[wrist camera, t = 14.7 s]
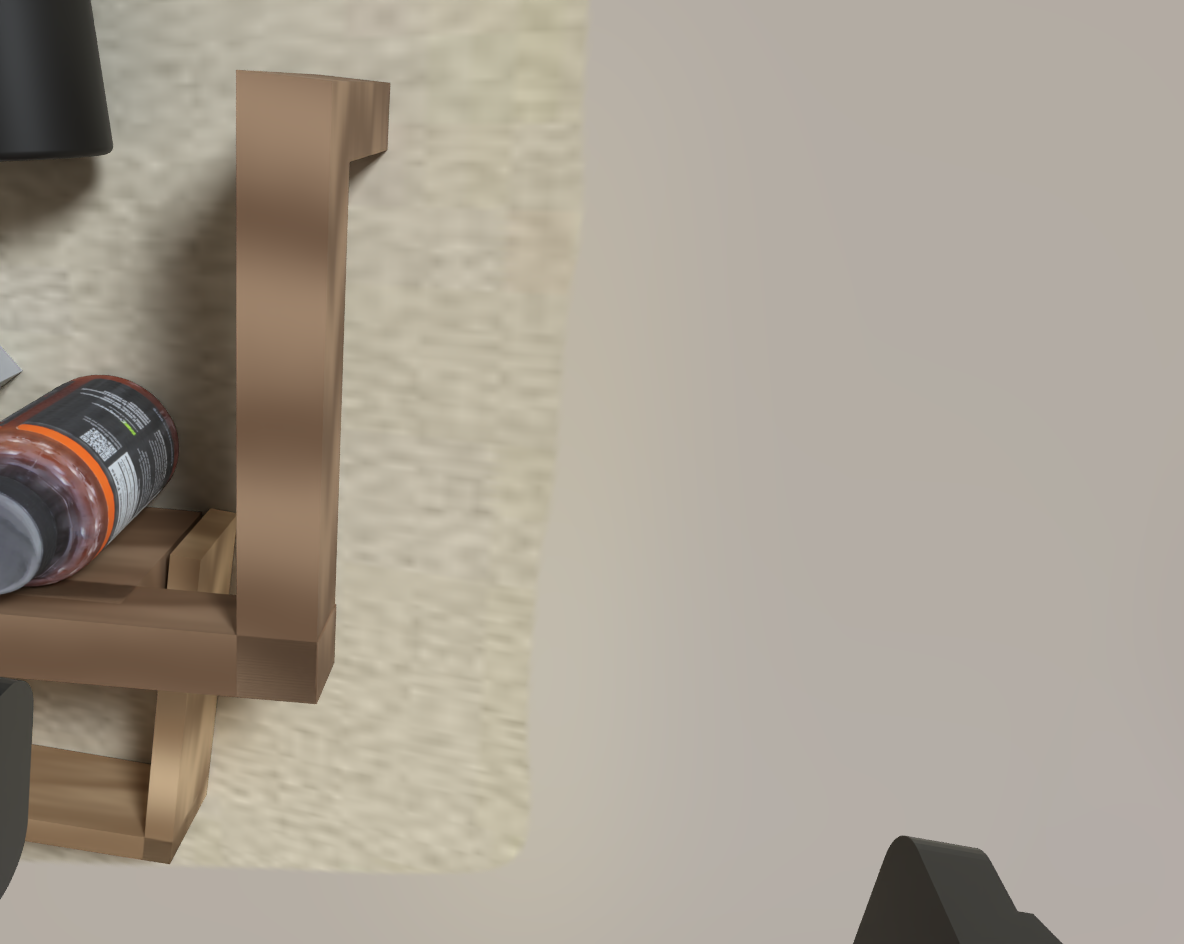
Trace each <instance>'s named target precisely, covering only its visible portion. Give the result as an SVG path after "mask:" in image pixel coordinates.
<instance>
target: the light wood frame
mask: <svg viewBox="0 0 1184 944" xmlns="http://www.w3.org/2000/svg"><path fill="white" fill-rule="evenodd" d="M236 527H237V513H233V512H228V511H223V510H217V509H212V508H210V510H209V511H208V512H207V513H206V514H205V515H204V516H203V517H202V519H201V520H200V521H199V522H198V523H197V524H196V525H195V527H194V528H193V529H192V530H191V531H190V532H189V533H188V535H187V536H186V537H185V538H184V539H183V540H182V541H181V543H180V544H179V545H178V546H177V547H176V548H175V549H174V551H173V552H172V553H171V554H170V562H169V573H168V584H167V589H174V590H185V591H196V592H207V593H218V594H229V589H230V580H231V572H232V563H233V554H234V545H235V536H236ZM216 705H217V695H206V694H194V693H183V692H171V691H160V690H158V694H157V705H156V716H155V727H154V738H153V749H152V760H151V764H146V763H140V762H134V761H128V760H122V759H116V758H110V757H104V756H99V755H93V754H87V753H81V752H75V751H69V750H63V749H57V748H51V747H45V746H39V745H33V744H32V747H31V768H30V789H29V810H28V825H27V832H26V838H25V841H29V842H35V843H41V844H47V845H54V846H60V847H66V848H72V849H78V850H85V851H91V852H97V853H103V854H110V855H116V856H122V857H128V858H134V859H141V860H147V861H153V862H159V863H165V864H170V863H171V861H172V859H173V857H174V855H175V854H176V852H177V850H178V848H179V846H180V844H181V842H182V840H183V838H184V836H185V835H186V833H187V831H188V829H189V827H190V825H191V823H192V821H193V819H194V817H195V816H196V814H197V812H198V810H199V808H200V806H201V804H202V802H203V800H204V798H205V797H206V795H207V786H208V777H209V768H210V759H211V750H212V741H213V732H214V723H215V714H216Z"/></svg>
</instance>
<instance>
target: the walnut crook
mask: <svg viewBox="0 0 1184 944" xmlns="http://www.w3.org/2000/svg"><path fill="white" fill-rule="evenodd" d="M389 101H390V83H386V82H377V81H369V80H360V79H351V78H342V77H334V76H325V75H315V74H298V73H281V72H263V71H246V70H236V483H237V595H229V594H218V593H207V592H196V591H185V590H174V589H167V584H168V573H169V562H170V554H171V553H172V552H173V551H174V549H175V548H176V547H177V546H178V545H179V544H180V543H181V541H182V540H183V539H184V538H185V537H186V536H187V535H188V533H189V532H190V531H191V530H192V529H193V528H194V527H195V525H196V524H197V523H198V522H199V521H200V520H201V519H202V512H194V511H184V510H173V509H163V508H152V507H145V508H144V509H143V510H142V511H141V512H140V513H139V514H138V515H137V516H136V517H135V518H134V519H133V520H132V521H131V522H130V523H129V524H128V525H127V526H126V527H125V528H124V529H123V530H122V531H121V532H120V533H119V534H118V535H117V536H116V537H115V538H114V539H113V540H112V541H111V542H110V543H109V544H108V545H107V546H106V547H105V548H104V549H103V550H102V551H101V552H100V553H99V554H98V555H97V556H96V557H95V558H94V559H93V560H92V561H91V562H90V563H89V564H88V565H86V566H85V567H84V568H82V569H81V570H80V571H78V572H77V573H76V574H74V575H72V576H70V577H68V578H66V579H63V580H61V581H59V582H56V583H52V584H48V585H42V586H26V587H25V586H23V587H21V588H20V589H18V590H15V591H13V592H10V593H6V594H0V677H10V678H22V679H33V680H45V681H56V682H68V683H79V684H91V685H102V686H114V687H125V688H137V689H148V690H160V691H171V692H183V693H194V694H206V695H217V696H229V697H240V698H252V699H263V700H275V701H286V702H298V703H310V704H317V702H318V700H319V697H320V695H321V693H322V690H323V688H324V686H325V683H326V681H327V678H328V676H329V674H330V671H331V669H332V667H333V664H334V657H335V627H336V604H335V587H336V557H337V526H338V496H339V466H340V435H341V405H342V375H343V344H344V314H345V284H346V253H347V223H348V193H349V162H351V161H354V160H358V159H361V158H364V157H367V156H370V155H373V154H376V153H380V152H383V151H386V150H387V146H388V123H389Z"/></svg>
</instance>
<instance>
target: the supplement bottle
mask: <svg viewBox="0 0 1184 944" xmlns="http://www.w3.org/2000/svg"><path fill="white" fill-rule="evenodd" d="M178 454H179V443H178V435H177V431H176V428H175V425H174V423H173V420H172V419H171V417H170V415H169V414H168V412H167V411H166V409H165V408H164V406H163V405H162V404H161V403H160V401H159V400H157V399H156V398H155V397H154V396H153V395H152V394H151V393H150V392H148V391H147V390H146V389H144V388H142V387H141V386H139V385H137V384H135V383H133V382H131V381H129V380H126V379H123V378H119V377H115V376H109V375H91V376H84V377H79V378H76V379H73V380H71V381H69V382H67V383H64V384H62V385H61V386H59V387H57V388H55V389H53V390H52V391H50V392H48V393H47V394H45V395H43V396H42V397H40V398H39V399H37V400H36V401H34V402H32V403H30V404H29V405H27V406H25V407H23V408H22V409H20V410H19V411H17V412H15V413H13V414H12V415H10V416H9V417H7V418H5V419H4V420H2V421H0V594H6V593H10V592H13V591H15V590H18V589H20V588H21V587H23V586H25V587H26V586H42V585H48V584H52V583H56V582H59V581H61V580H63V579H66V578H68V577H70V576H72V575H74V574H76V573H77V572H78V571H80V570H81V569H82V568H84V567H85V566H86V565H88V564H89V563H90V562H91V561H92V560H93V559H94V558H95V557H96V556H97V555H98V554H99V553H100V552H101V551H102V550H103V549H104V548H105V547H106V546H107V545H108V544H109V543H110V542H111V541H112V540H113V539H114V538H115V537H116V536H117V535H118V534H119V533H120V532H121V531H122V530H123V529H124V528H125V527H126V526H127V525H128V524H129V523H130V522H131V521H132V520H133V519H134V518H135V517H136V516H137V515H138V514H139V513H140V512H141V511H142V510H143V509H144V508H145V507H146V506H147V505H148V504H149V503H150V502H151V501H152V500H153V499H154V498H155V497H156V496H157V495H158V493H159V492H160V491H161V490H162V488H163V487H165V485H166V484H167V483H168V482H169V480H170V478H171V477H172V475H173V473H174V471H175V468H176V465H177V461H178Z"/></svg>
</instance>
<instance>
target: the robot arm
mask: <svg viewBox="0 0 1184 944" xmlns="http://www.w3.org/2000/svg"><path fill="white" fill-rule="evenodd" d="M32 727H33V693H32V690H31V687H30V685H29V684H28V683H27V682H26V681H21V680H16V679H10V678H4V677H0V899H1V897H2V896H3V894H4V892H5V891H6V889H7V887H8V885H9V883H10V881H11V879H12V877H13V875H14V872H15V870H16V867H17V865H18V862H19V859H20V856H21V853H22V850H23V846H24V842H25V838H26V832H27V825H28V810H29V789H30V768H31V747H32ZM853 944H1062V943H1061V942H1060V941H1059V940H1058V939H1057V938H1056V937H1055V936H1054V935H1053V934H1052V933H1051V932H1050V931H1049V930H1048V929H1047V927H1045V926H1044V925H1043V923H1041V921H1040V920H1039V919H1038V918H1037V917H1036V916H1034V914H1030V913H1024V912H1018V911H1017V909H1016V908H1015V906H1014V904H1013V902H1012V900H1011V898H1010V896H1009V895H1008V893H1007V891H1006V889H1005V887H1004V885H1003V883H1002V881H1001V880H1000V878H999V876H998V874H997V872H996V870H995V868H994V866H993V865H992V863H991V861H990V860H989V858H988V856H987V855H986V854H985V853H984V852H983V851H982V850H980V849H978V848H972V847H966V846H960V845H955V844H949V843H944V842H938V841H932V840H926V839H920V838H915V837H909V836H899V837H898V838H896V839H895V840H894V841H893V842H892V844H891V845H890V847H889V849H888V851H887V853H886V856H885V858H884V861H883V864H882V866H881V869H880V872H879V874H878V877H877V880H876V883H875V885H874V888H873V891H872V894H871V897H870V899H869V902H868V904H867V907H866V910H865V913H864V915H863V918H862V921H861V923H860V926H859V929H858V932H857V934H856V937H855V940H854V943H853Z"/></svg>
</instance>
